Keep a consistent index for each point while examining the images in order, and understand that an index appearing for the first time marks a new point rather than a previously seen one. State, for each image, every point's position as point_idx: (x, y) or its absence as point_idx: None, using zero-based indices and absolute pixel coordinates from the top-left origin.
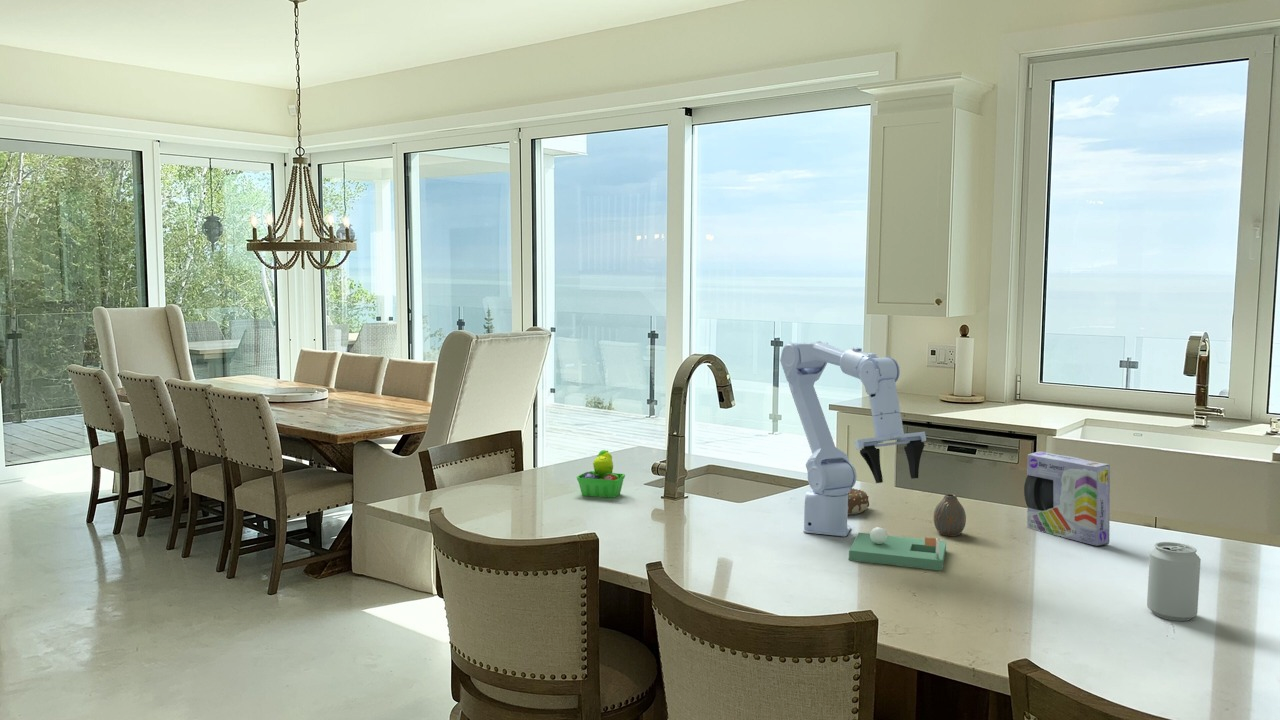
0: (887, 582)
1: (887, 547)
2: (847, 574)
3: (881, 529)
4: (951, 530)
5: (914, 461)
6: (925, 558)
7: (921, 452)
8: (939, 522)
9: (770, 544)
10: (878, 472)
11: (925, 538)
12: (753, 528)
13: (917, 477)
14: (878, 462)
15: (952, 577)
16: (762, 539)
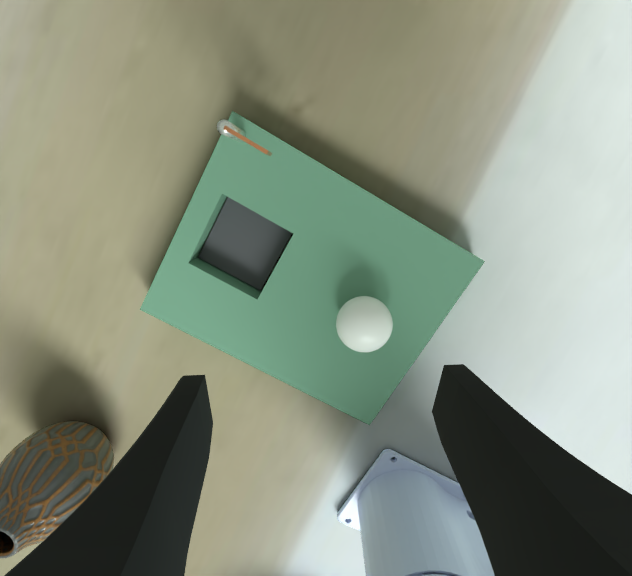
0: (461, 22)
1: (350, 274)
2: (543, 122)
3: (363, 320)
4: (78, 424)
5: (163, 477)
6: (279, 142)
7: (26, 559)
8: (99, 455)
9: (616, 416)
10: (506, 409)
11: (267, 150)
12: None
13: (187, 378)
14: (552, 476)
15: (233, 43)
16: (614, 458)
